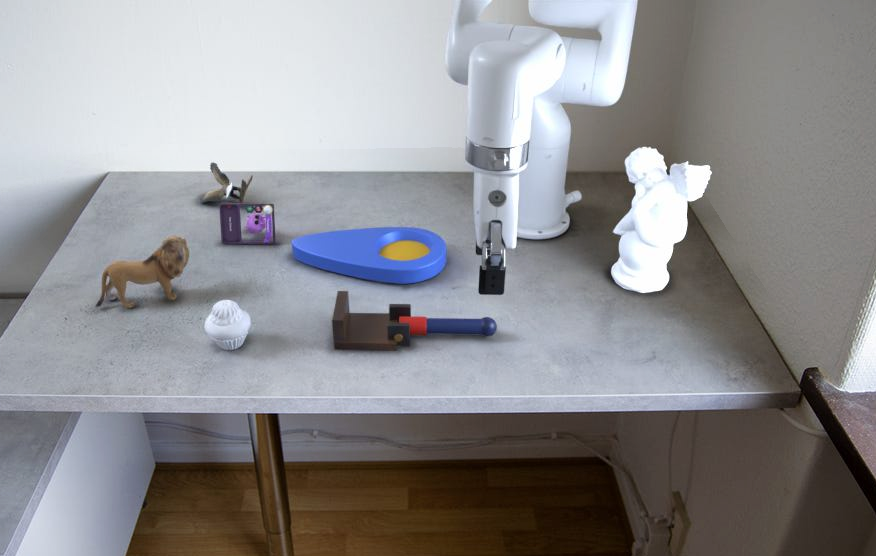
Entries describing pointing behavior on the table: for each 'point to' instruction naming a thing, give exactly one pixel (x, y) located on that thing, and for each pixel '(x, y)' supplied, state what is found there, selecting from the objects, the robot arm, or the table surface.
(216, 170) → the eagle figurine
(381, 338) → the brown lever base
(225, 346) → the muffin
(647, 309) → the table surface
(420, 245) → the location marker
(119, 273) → the lion figurine
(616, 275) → the cherub figurine
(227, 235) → the purple toy package
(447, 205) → the table surface
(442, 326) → the blue lever handle
